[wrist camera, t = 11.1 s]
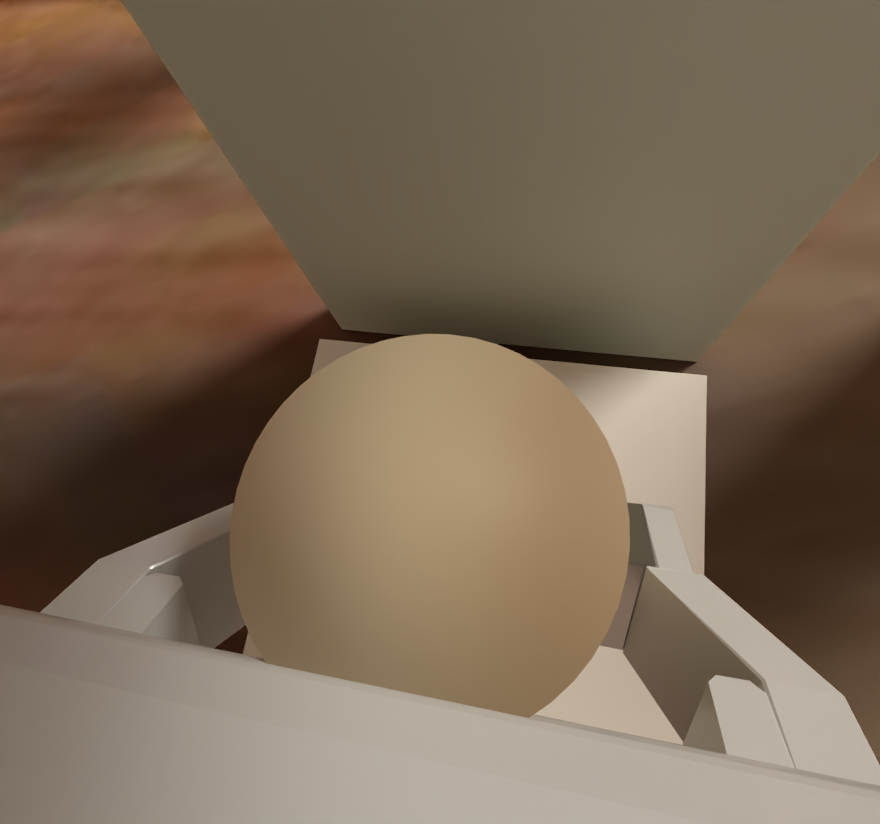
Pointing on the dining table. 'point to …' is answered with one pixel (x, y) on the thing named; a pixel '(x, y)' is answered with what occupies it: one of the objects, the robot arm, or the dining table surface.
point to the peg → (432, 526)
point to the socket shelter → (544, 190)
